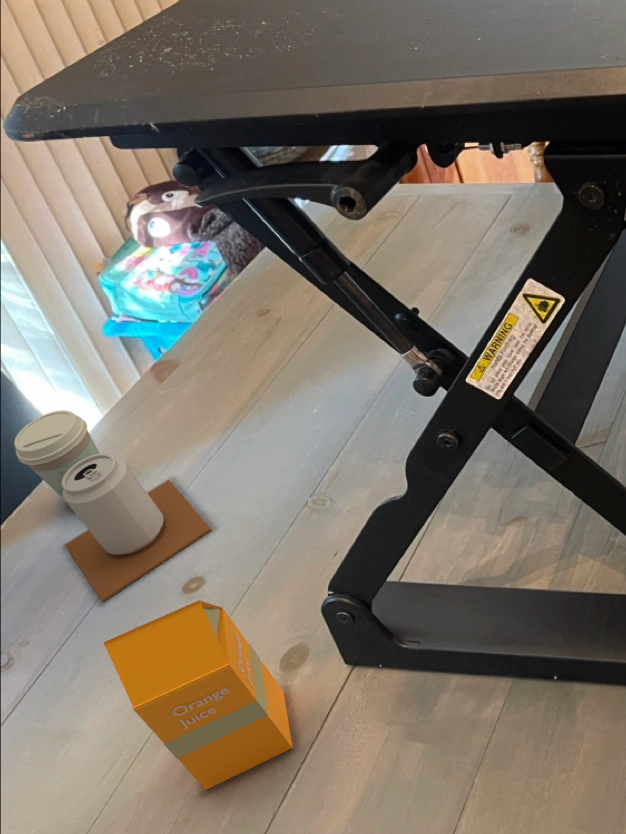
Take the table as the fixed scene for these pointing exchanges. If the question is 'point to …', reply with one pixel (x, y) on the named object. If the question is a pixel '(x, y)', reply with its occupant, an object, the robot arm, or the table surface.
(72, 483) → the can
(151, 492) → the mat
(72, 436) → the coffee cup
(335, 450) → the table surface
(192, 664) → the orange juice
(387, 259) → the table surface
